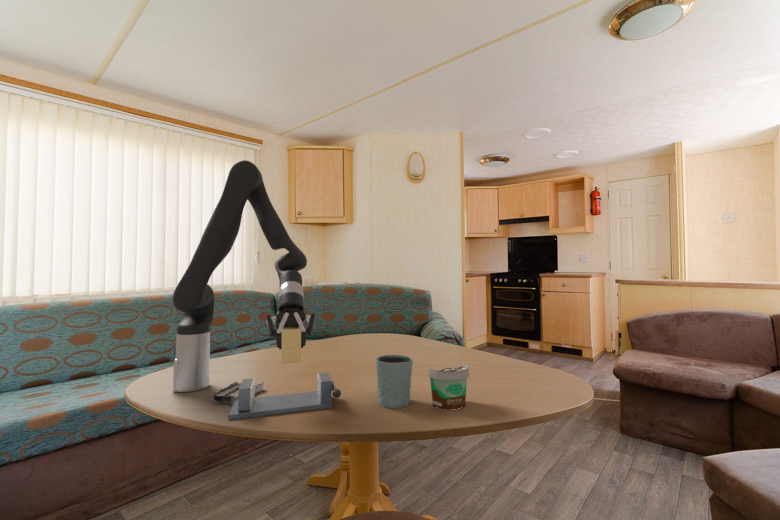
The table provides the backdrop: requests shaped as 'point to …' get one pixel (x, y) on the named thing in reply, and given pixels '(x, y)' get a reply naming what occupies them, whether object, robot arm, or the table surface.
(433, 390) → the food container
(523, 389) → the table surface
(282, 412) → the vise base
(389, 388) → the blue embossed cup
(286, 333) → the brass block
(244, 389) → the sliding jaw
